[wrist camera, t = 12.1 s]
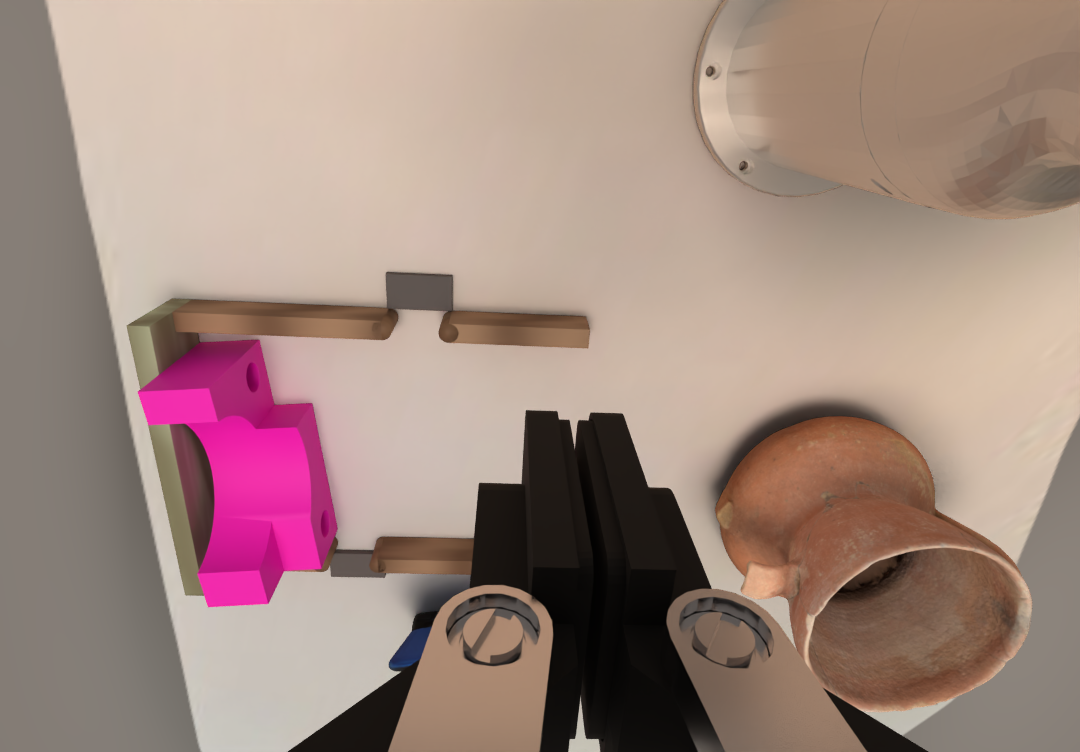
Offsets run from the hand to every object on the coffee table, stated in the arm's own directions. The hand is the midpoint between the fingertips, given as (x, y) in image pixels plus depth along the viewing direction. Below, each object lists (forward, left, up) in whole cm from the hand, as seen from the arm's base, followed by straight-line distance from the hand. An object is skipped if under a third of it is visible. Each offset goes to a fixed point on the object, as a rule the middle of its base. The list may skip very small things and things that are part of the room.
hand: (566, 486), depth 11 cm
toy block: (+17, +17, -30) cm, 38 cm away
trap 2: (+7, +5, -29) cm, 30 cm away
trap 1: (+12, +27, -29) cm, 41 cm away
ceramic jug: (-22, +19, -29) cm, 41 cm away
